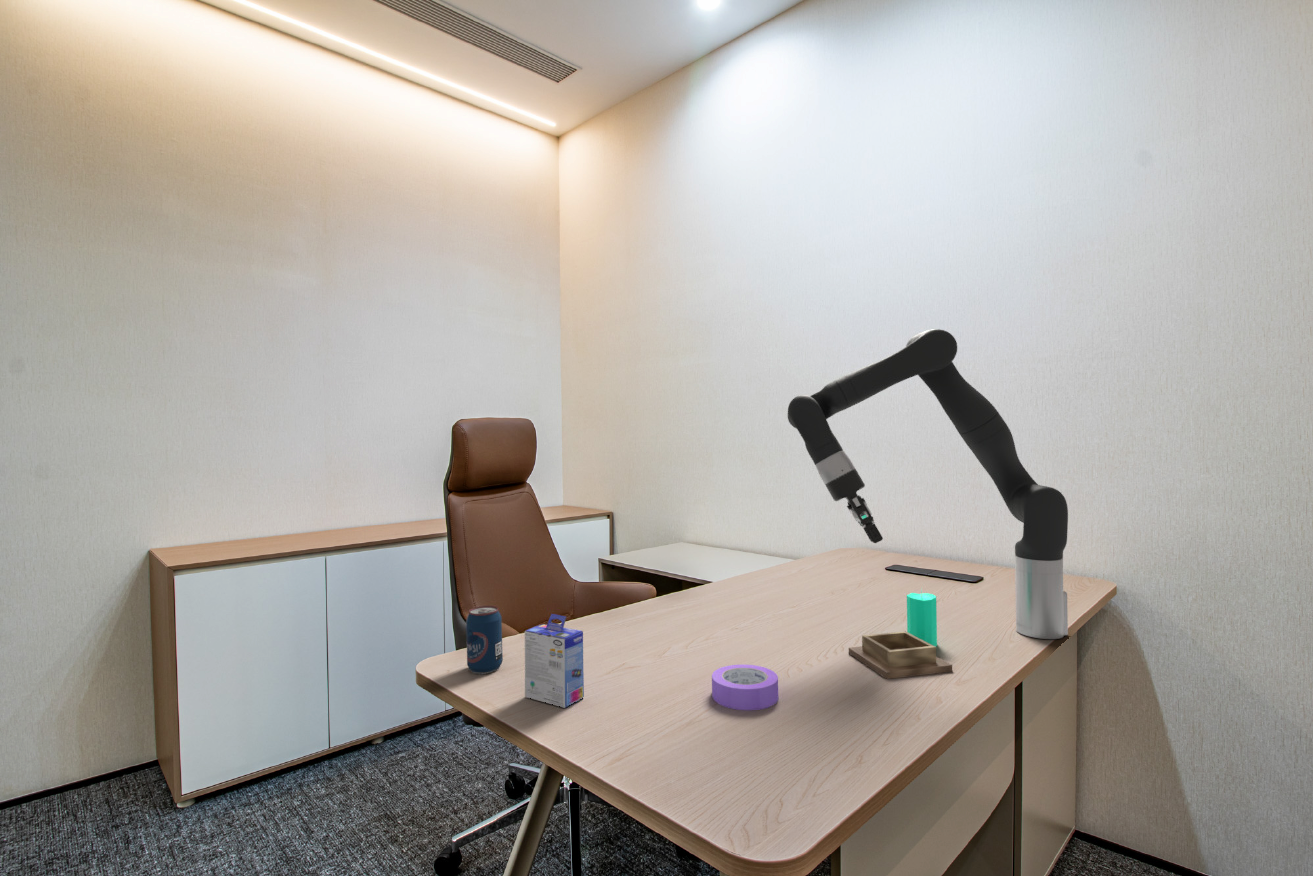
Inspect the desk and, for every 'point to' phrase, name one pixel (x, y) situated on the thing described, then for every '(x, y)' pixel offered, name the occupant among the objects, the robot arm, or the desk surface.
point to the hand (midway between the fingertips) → (877, 541)
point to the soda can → (484, 639)
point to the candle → (922, 617)
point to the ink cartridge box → (554, 663)
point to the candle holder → (899, 655)
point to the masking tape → (745, 687)
